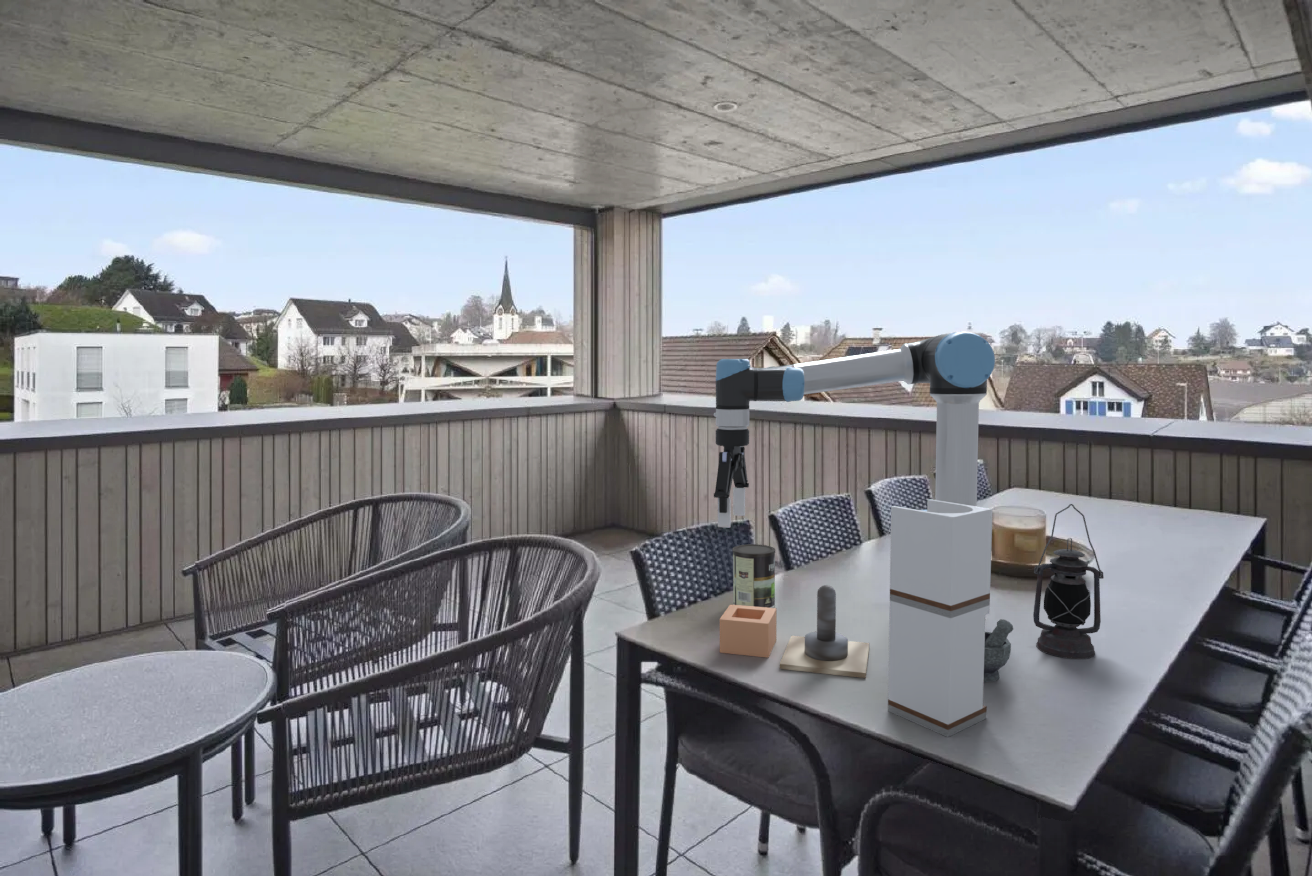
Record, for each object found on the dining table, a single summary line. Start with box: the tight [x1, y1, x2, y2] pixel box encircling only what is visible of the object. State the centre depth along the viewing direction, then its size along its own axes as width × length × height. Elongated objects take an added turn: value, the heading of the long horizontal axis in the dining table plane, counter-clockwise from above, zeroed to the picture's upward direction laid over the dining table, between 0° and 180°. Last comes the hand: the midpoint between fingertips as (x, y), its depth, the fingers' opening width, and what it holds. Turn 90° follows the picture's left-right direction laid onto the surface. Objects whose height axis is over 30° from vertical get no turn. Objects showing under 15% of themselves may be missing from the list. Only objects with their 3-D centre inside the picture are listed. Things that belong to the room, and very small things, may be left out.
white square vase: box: [887, 498, 993, 738], centre depth 126 cm, size 11×11×35 cm
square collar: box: [719, 603, 778, 658], centre depth 160 cm, size 10×10×7 cm
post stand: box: [779, 584, 870, 679], centre depth 152 cm, size 16×16×15 cm
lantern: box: [1032, 503, 1105, 660], centre depth 155 cm, size 12×11×30 cm
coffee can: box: [731, 543, 776, 608], centre depth 186 cm, size 10×10×14 cm
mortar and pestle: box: [983, 618, 1014, 683], centre depth 143 cm, size 11×9×12 cm
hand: (731, 521), depth 174 cm, fingers open, 13 cm apart
